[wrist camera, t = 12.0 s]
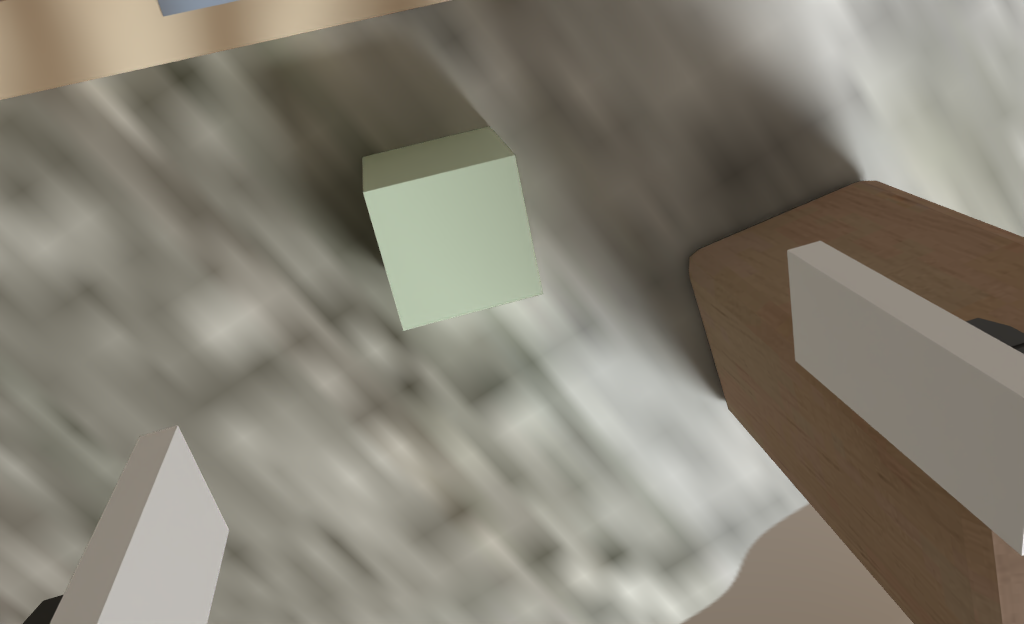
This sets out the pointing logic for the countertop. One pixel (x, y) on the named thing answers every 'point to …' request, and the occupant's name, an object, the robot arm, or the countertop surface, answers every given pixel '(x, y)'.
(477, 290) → the sage block
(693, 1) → the countertop surface
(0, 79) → the blueprint board
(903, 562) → the block
